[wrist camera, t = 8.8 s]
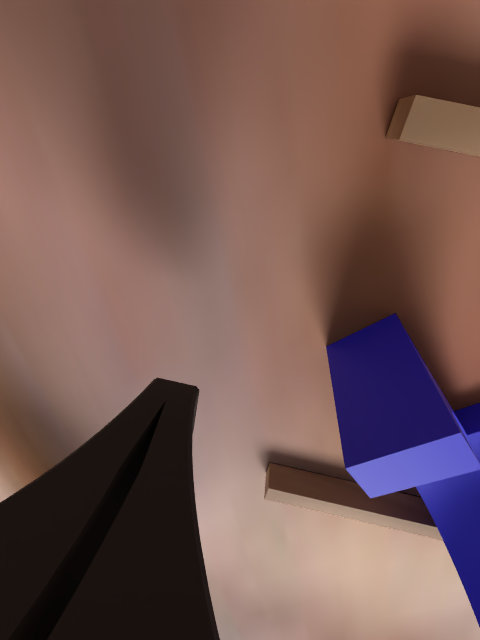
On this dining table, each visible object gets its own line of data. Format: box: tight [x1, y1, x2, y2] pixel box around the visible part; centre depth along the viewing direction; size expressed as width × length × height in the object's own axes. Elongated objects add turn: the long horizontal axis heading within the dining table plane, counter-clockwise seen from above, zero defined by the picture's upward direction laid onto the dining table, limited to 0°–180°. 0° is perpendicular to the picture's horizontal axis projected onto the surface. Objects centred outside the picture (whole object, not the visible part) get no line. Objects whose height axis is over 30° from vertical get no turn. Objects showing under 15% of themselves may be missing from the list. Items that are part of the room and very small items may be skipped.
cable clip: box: [326, 313, 480, 627], centre depth 13 cm, size 12×4×6 cm, turn 37°
